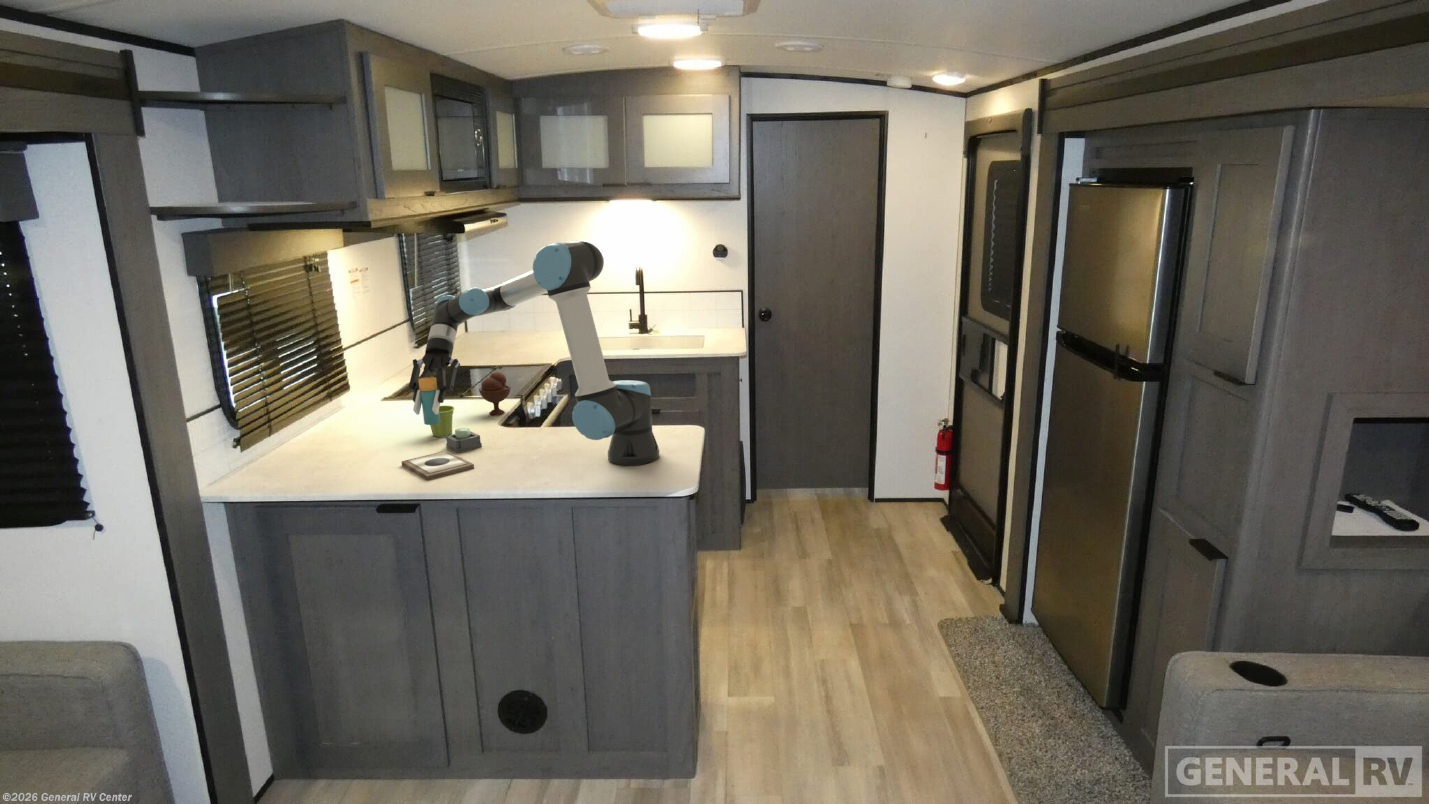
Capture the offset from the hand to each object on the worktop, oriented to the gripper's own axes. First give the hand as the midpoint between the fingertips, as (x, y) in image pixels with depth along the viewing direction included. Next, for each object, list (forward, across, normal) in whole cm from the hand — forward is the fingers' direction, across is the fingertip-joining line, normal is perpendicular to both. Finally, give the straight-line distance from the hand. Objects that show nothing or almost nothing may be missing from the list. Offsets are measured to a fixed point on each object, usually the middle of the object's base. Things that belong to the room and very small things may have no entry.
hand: (425, 412), depth 240 cm
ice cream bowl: (-30, 0, -55) cm, 63 cm away
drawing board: (+10, 0, -15) cm, 18 cm away
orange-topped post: (0, 0, -6) cm, 6 cm away
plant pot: (-12, +10, -38) cm, 41 cm away
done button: (-5, -2, -26) cm, 27 cm away
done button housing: (-3, -2, -28) cm, 28 cm away
